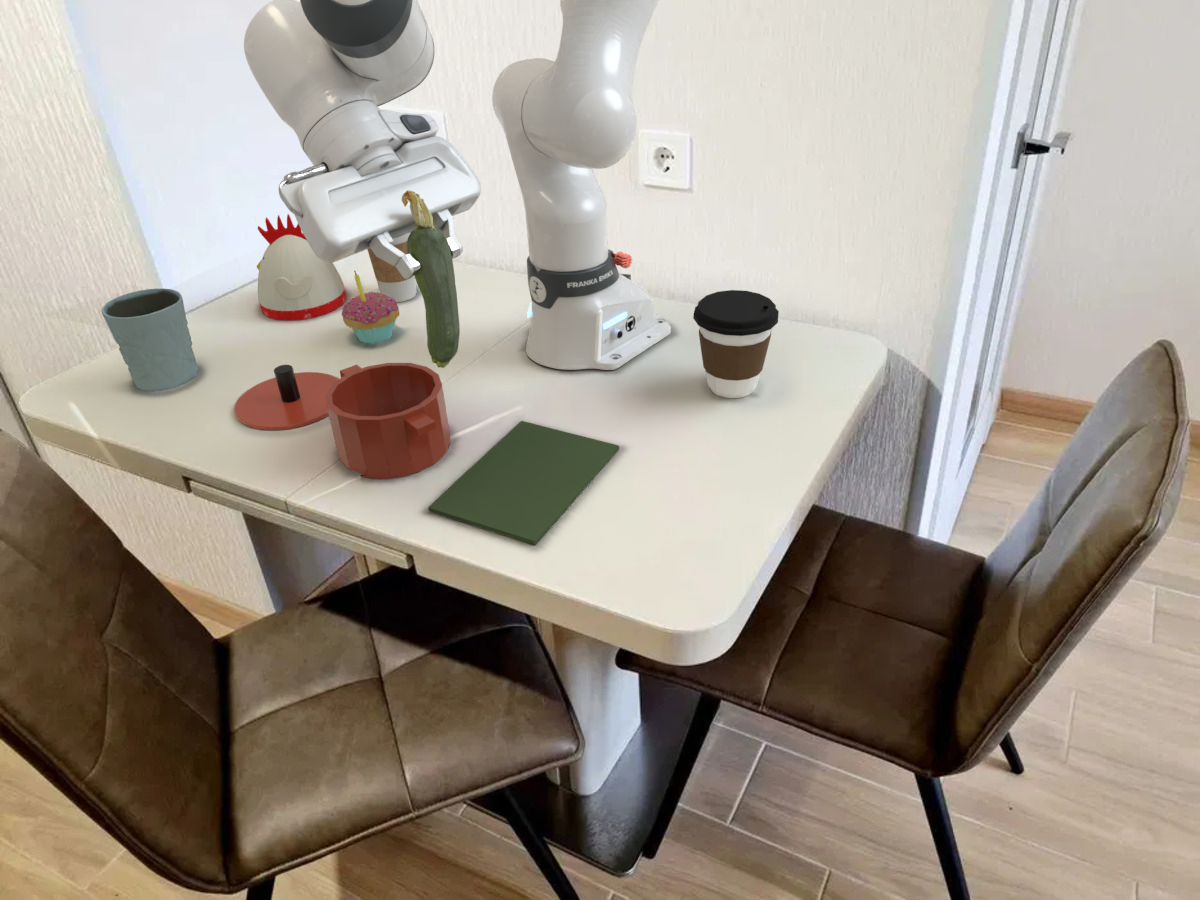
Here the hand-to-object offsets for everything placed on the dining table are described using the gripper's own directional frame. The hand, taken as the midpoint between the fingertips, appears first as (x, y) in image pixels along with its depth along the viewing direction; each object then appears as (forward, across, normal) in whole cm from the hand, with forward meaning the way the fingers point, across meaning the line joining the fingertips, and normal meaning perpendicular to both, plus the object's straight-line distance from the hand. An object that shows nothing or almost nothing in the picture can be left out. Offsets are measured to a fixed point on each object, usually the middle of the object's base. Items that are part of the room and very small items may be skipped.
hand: (435, 264), depth 90 cm
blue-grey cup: (-18, -10, +56) cm, 59 cm away
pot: (+10, -2, +26) cm, 29 cm away
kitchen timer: (-23, +18, +60) cm, 67 cm away
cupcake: (-8, +16, +45) cm, 49 cm away
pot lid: (-4, -3, +40) cm, 40 cm away
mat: (+23, +3, +14) cm, 27 cm away
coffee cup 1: (-15, +29, +52) cm, 62 cm away
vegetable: (+8, 0, +9) cm, 13 cm away
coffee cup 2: (+29, +36, +9) cm, 47 cm away
